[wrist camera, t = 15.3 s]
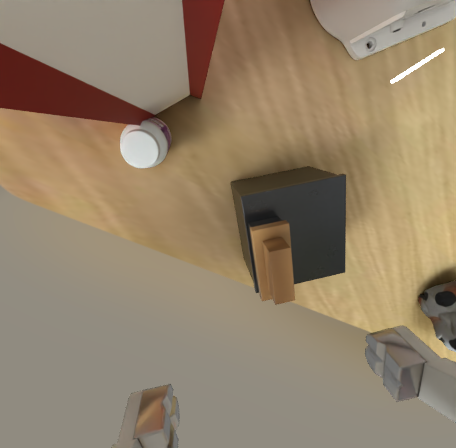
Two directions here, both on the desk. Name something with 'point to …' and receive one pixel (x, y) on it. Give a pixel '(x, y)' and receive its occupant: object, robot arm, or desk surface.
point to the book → (104, 56)
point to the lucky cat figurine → (441, 311)
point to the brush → (273, 259)
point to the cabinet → (297, 217)
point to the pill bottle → (145, 143)
